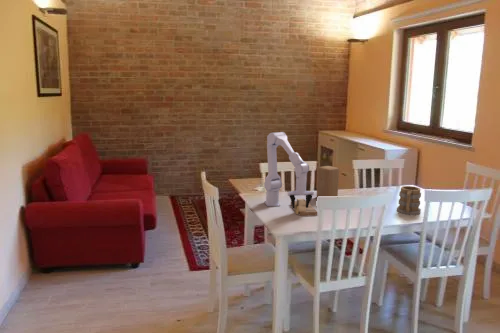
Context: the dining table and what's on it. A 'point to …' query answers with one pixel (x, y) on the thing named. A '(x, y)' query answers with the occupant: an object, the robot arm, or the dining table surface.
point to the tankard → (409, 200)
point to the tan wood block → (300, 205)
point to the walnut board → (307, 211)
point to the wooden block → (327, 181)
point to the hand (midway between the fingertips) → (300, 207)
